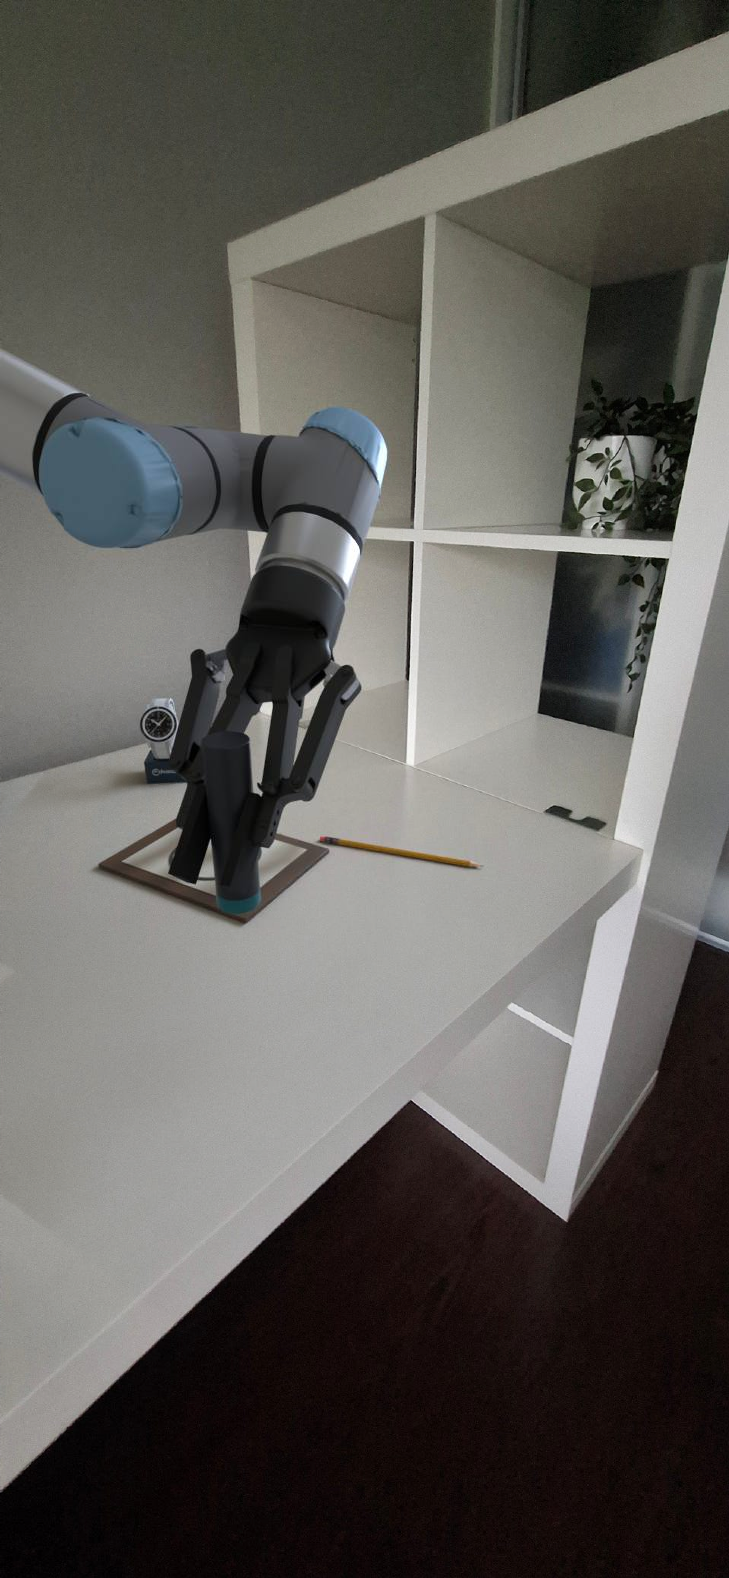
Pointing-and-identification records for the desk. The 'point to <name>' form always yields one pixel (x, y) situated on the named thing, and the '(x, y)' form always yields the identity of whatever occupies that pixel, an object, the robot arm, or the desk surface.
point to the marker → (228, 809)
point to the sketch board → (212, 868)
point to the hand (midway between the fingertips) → (207, 883)
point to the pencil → (398, 851)
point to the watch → (159, 740)
